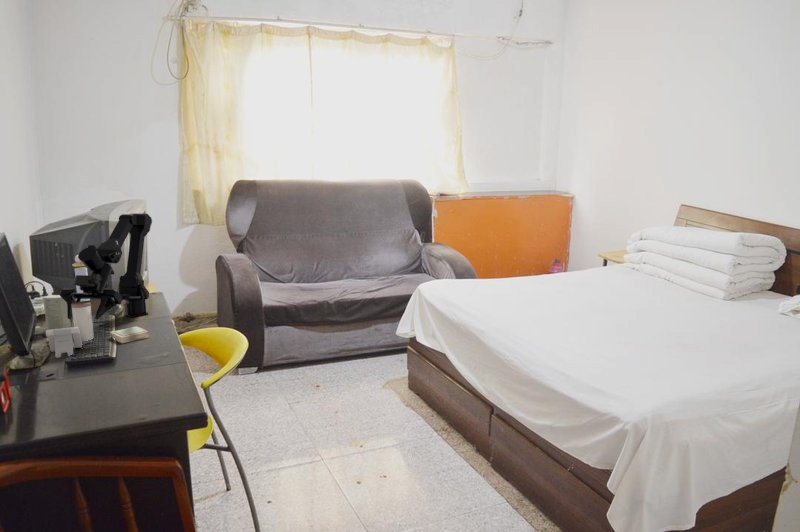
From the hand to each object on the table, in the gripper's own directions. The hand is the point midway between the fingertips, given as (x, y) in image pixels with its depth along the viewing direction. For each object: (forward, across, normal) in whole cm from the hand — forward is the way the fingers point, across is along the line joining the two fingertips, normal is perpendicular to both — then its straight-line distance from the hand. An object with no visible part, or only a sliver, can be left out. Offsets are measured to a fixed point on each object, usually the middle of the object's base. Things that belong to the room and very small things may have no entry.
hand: (82, 318), depth 191 cm
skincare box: (-3, -17, +14) cm, 23 cm away
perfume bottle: (-31, -32, +42) cm, 61 cm away
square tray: (+2, +12, +10) cm, 16 cm away
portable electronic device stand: (+13, 0, -2) cm, 13 cm away
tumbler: (+6, 0, +6) cm, 8 cm away
